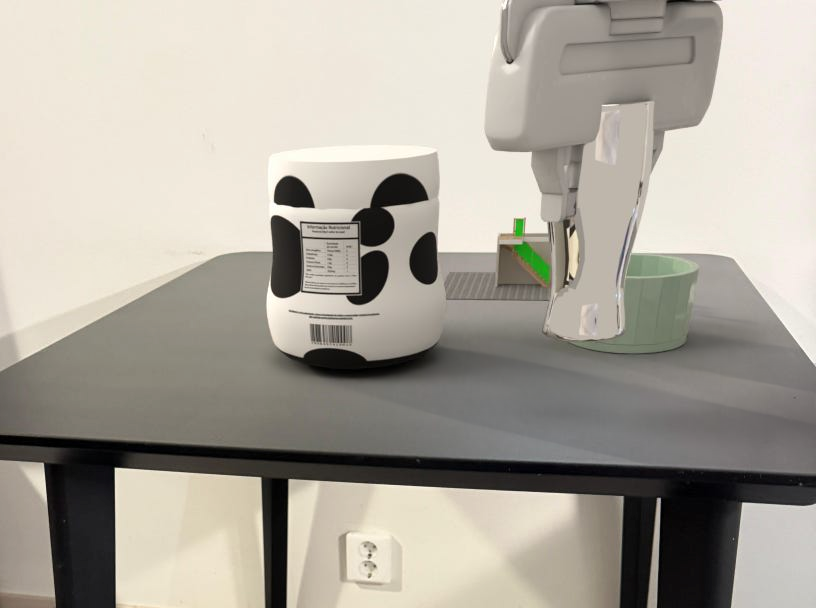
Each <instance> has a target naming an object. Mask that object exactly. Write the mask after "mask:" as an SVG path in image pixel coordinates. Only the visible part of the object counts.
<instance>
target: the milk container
mask: <svg viewBox="0 0 816 608" xmlns="http://www.w3.org/2000/svg"><path fill="white" fill-rule="evenodd" d="M439 162H440V161H439V153H438V150H437V148H434V147H429V146H421V145H411V144H409V145H408V144H352V145H334V146H333V145H332V146H319V147H307V148H299V149H292V150H284V151H280V152H277V153H271V155H270V156H269V158H268V165H267V171H268V172H267V193H268V199H269V206H268V213H269V224H270V234H271V235H270V236H271V246H272V263H271V271H270V276H269V283H268V288H267V294H266V316H267V321H268V328H269V331H270V336H271V339H272V342H273V343H274V345H275V347H276V348H277V350H278V351H279V352H280V353H282V354H283V355H284V356H286V357H287V358H288V359H290V360H293V361H296V362H298V363H301V364H304V365H308V366H314V367H320V368H321V367H322V368H327V369H336V370H337V369H338V370H339V369H340V370H341V369H347V370H361V369H362V370H363V369H377V368H383V367H388V366H394V365H399V364H404V363H407V362H410V361H412V360H415V359H418V358H421V357H423V356H424V355H426V354H427V353H429V351H431V350H432V349H434V347H435V346H437V344H438V343H439V341H440V339H441V336H442V335H443V330H444V326H445V320H446V313H447V299H446V292H445V287H444V283H445V281H444V278H443V274H442V269H441V265H440V259H439V248H438V244H439V241H438V239H439V237H438V236H439V220H440V200H439V196H440V195H439V194H440V187H441V185H440V181H441V177H440V176H441V175H440V163H439Z"/></svg>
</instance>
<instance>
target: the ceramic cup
mask: <svg viewBox="0 0 816 608" xmlns="http://www.w3.org/2000/svg"><path fill="white" fill-rule="evenodd" d="M699 271H700V268H699V264H698V263H696V262H695V261H692V260H691V259H687V258H683V257H679V256H672V255H665V254H657V253H640V252H639V253H635V252H634V253H633V252H632V253H631V257H630V261H629V265H628V268H627V274H626V280H625V290H624V306H625V321H626V329H625V333H624V334H623V335H622V336H620V337H618V338H616V339H612V340H608V341H601V342H569V343H570V344H572V345H574V346H576V347H579V348H582V349H585V350H586V349H587V350H590V351H597V352H603V353H611V354H629V355H630V354H637V355H638V354H653V353H662V352H668V351H670V350H675V349H677V348H679V347H682V346H683V345H684V344H685V343H686V342H687V338H688V334H689V330H690V324H691V319H692V311H693V305H694V300H695V295H696V289H697V288H696V287H697V284H698V283H697V282H698V276H699Z"/></svg>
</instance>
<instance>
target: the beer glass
mask: <svg viewBox="0 0 816 608" xmlns="http://www.w3.org/2000/svg"><path fill="white" fill-rule="evenodd" d="M655 103H656V100H655V99H649V100H648V101H644V102H634V103H621V104H603V105H602V112H601V121H600V129H599V132H598V134H597V137H596V139H595V140H594V141H593V142H591V143H585V144H578V145H572V146H571V157H570V164H569V165H564V170H565V174H566V179H567V184H568V189H569V191H570V192H576V203H575V205H574V208H575V214H574V216H573V218H572V219H570V220H566V221H562V222H558V223H552V222H546V224H547V225H546V226H547V233H548V238H549V248H550V259H551V290H550V298H549V300H548V303H547V308H546V312H545V314H544V315H545V316H544V318H543V323H542V327H541V332H542V334H543V335H544V336H546V337H547V338H549V339H552V340H556V341H561V342H568V343H570V342H601V341H608V340H612V339H616V338H618V337H620V336H622V335H623V334H624V333H625V329H626V321H625V306H624V290H625V280H626V274H627V268H628V265H629V261H630V257H631V253H633V250H634V245H635V242H636V238H637V237H638V236H637V235H638V232H639V228H640V225H641V221H642V218H643V212H644V209H645V206H646V202H647V201H646V200H647V196H648V192H649V186H650V180H651V175H650V173H651V165H652V154H653V139H654V115H655ZM651 174H652V173H651Z"/></svg>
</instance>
